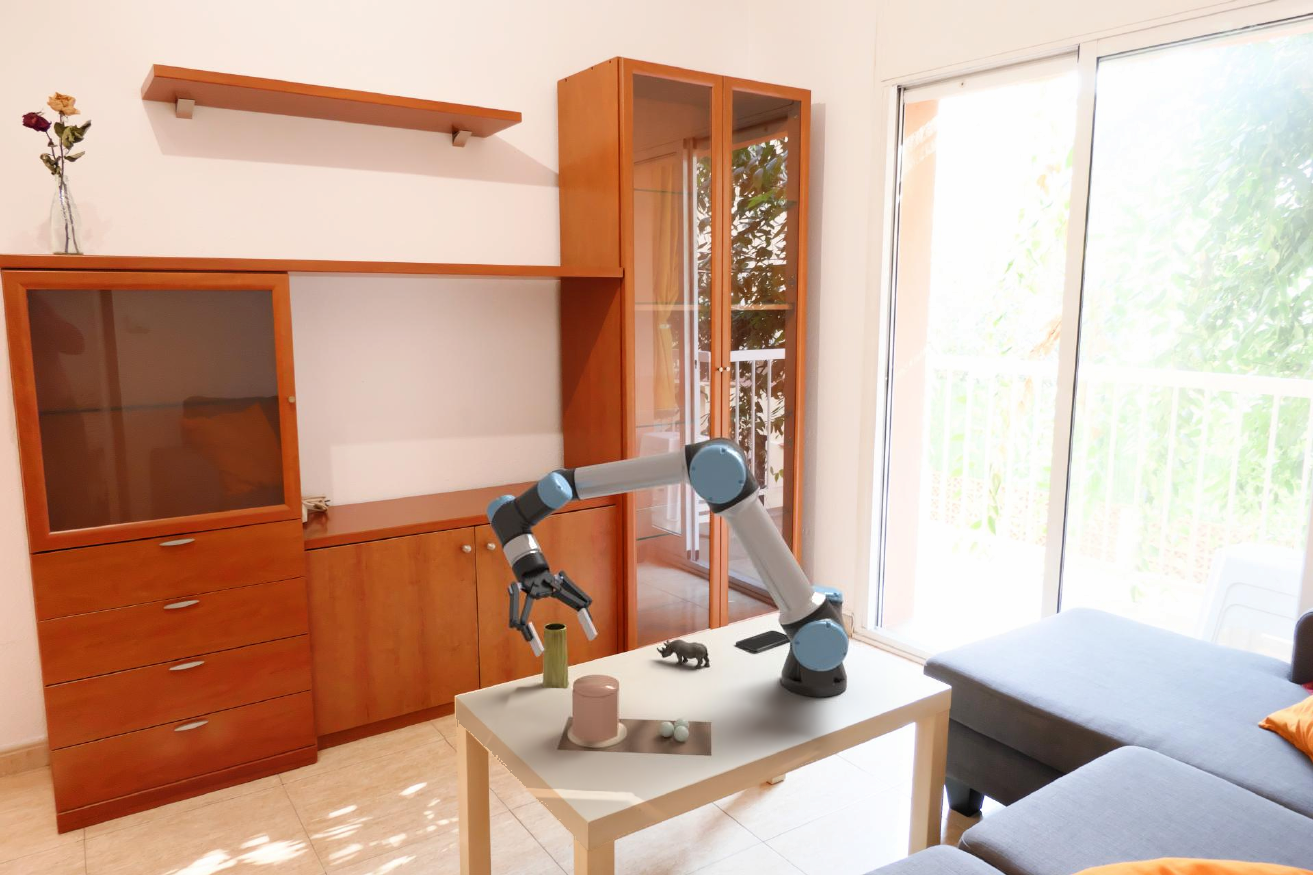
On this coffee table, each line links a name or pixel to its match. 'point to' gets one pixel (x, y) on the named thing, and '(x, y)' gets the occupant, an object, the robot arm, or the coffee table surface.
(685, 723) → the marble
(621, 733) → the coaster
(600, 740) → the domed lid canister
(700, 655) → the rhino figurine
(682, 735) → the marble
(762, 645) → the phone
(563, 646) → the vase
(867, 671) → the coffee table surface
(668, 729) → the marble
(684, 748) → the board
